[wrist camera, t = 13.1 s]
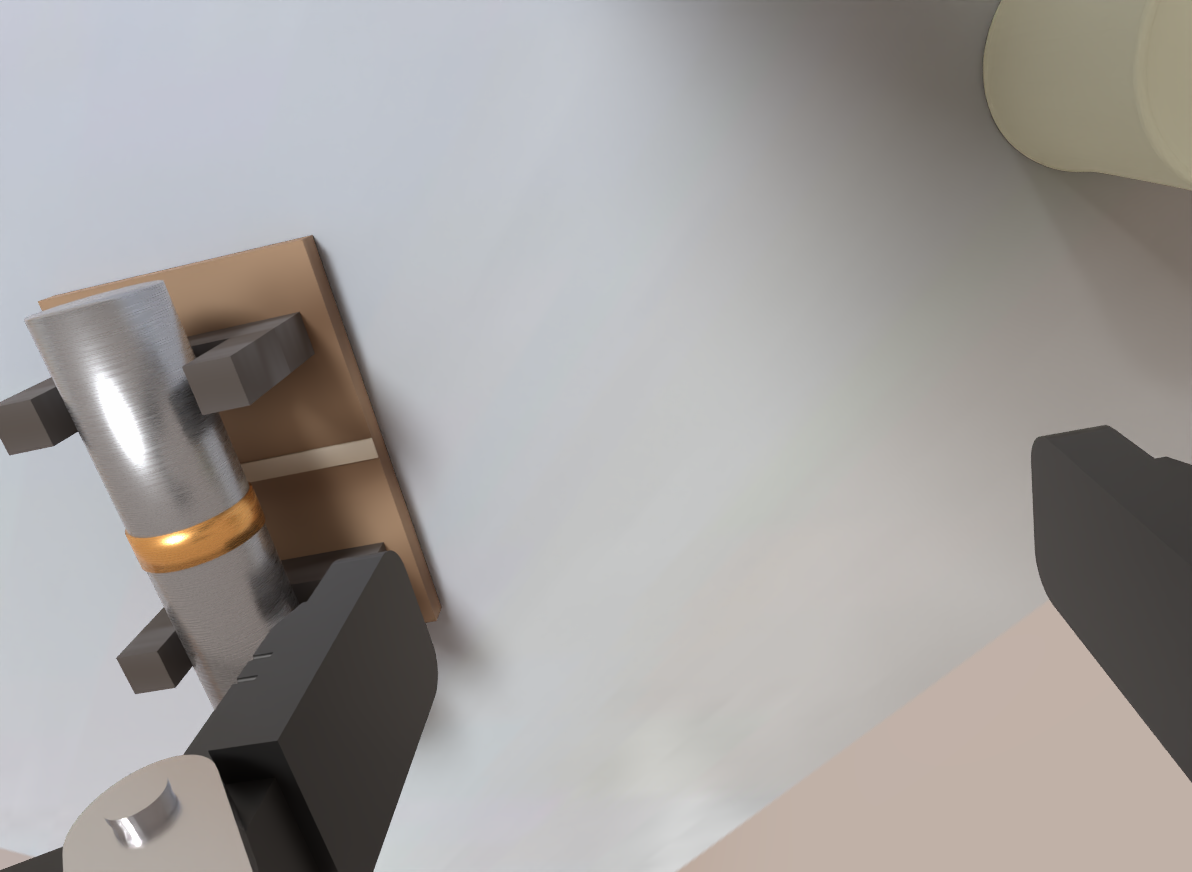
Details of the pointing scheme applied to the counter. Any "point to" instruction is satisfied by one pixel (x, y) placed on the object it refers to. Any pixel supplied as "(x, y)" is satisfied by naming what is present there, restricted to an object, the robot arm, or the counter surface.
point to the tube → (168, 473)
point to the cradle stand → (265, 424)
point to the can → (1095, 85)
